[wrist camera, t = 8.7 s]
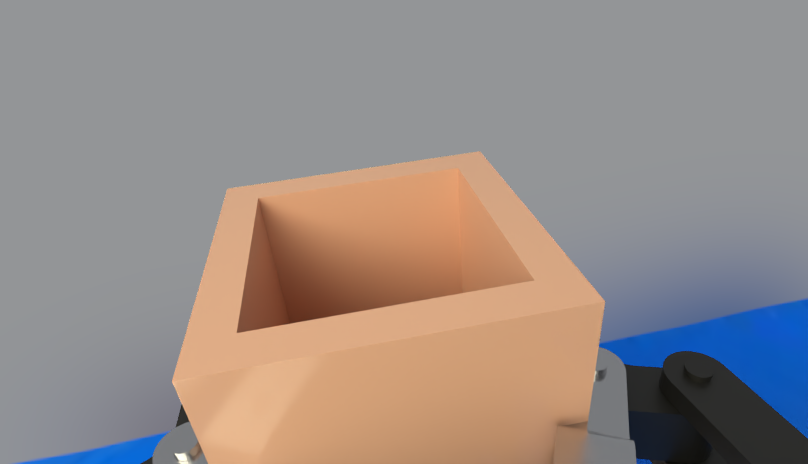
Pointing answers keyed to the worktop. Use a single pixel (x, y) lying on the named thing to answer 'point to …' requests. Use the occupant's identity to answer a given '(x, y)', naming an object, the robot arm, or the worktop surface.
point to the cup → (387, 323)
